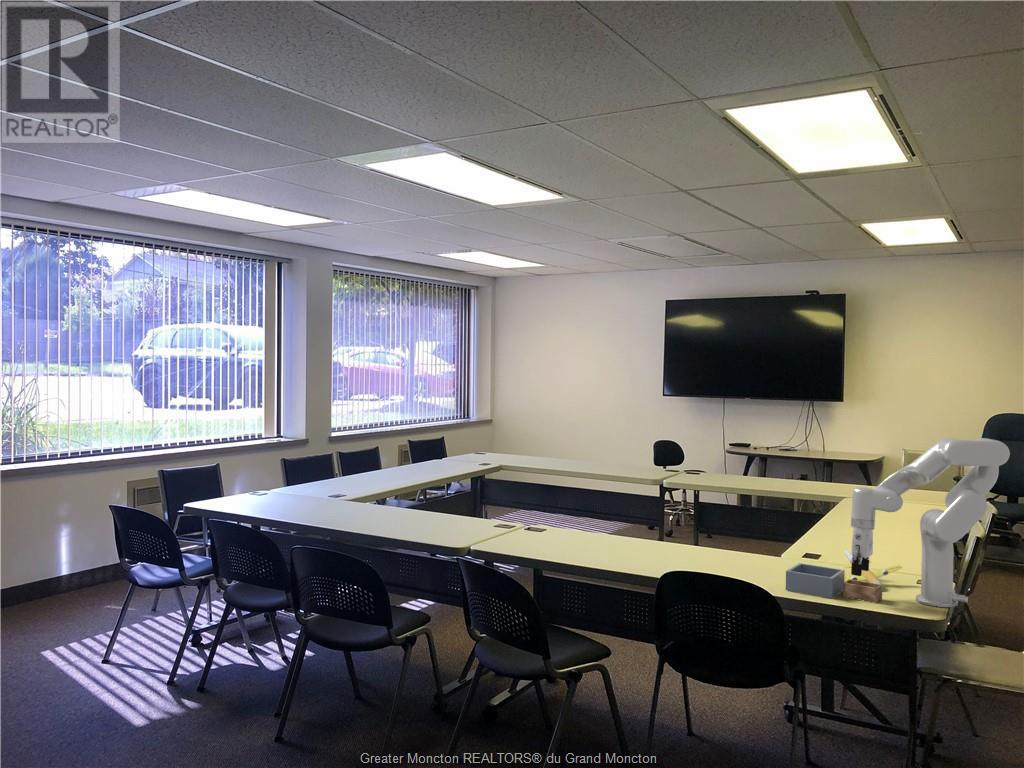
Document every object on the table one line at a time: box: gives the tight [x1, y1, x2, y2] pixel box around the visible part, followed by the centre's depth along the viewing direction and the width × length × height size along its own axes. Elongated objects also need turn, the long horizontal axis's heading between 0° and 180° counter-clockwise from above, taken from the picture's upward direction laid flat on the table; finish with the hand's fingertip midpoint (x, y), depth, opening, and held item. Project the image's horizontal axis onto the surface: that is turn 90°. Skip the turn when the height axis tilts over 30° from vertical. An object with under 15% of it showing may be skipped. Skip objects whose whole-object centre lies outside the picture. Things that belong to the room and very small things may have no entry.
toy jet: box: [842, 549, 903, 591], centre depth 292 cm, size 26×7×30 cm
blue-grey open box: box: [785, 562, 846, 599], centre depth 279 cm, size 16×15×7 cm
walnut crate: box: [842, 579, 883, 604], centre depth 269 cm, size 11×6×5 cm, turn 52°
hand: (859, 572), depth 269 cm, fingers open, 9 cm apart
